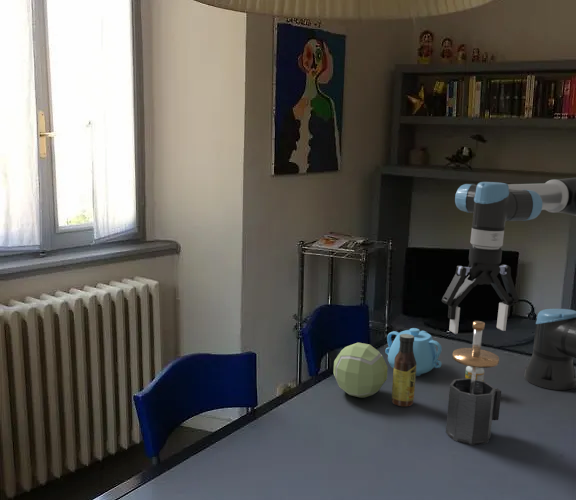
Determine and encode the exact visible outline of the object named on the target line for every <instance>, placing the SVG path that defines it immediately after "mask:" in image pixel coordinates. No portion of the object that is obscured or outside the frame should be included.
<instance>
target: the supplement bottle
mask: <svg viewBox="0 0 576 500" xmlns="http://www.w3.org/2000/svg"><path fill="white" fill-rule="evenodd" d="M464 373H465V375H464V377H465V378H464V379H466V378H470V379H471V377H472V367H471V366H467V365H466V367H465V372H464ZM475 380H479V381H484V380H485V368H478V367H477V369H476V379H475ZM484 382H485V381H484Z"/></svg>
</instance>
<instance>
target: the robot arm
mask: <svg viewBox="0 0 576 500" xmlns="http://www.w3.org/2000/svg"><path fill="white" fill-rule="evenodd" d="M454 196H455V197H454V203H455V206H456V208H457V209H458V210H459V211H461V212H466V213H468V214H473V215H472V223H471V224H472V225H471V233H470V241H469V242H470V244H471V246H469V254H468V261H469V263H468V266H462V265H457V266H456V270H455V274H454V276H453V278H452V280H451V282H450V284H449V286H448V287H447V289H446V290H445V293H444V294H443V296H442V298H441V302H442V303H443V304H445V305H447V306H448V311H447V318H448V319H449V328H448V330H449V331H450V332H452V333H453V334H455V335H457V334H459V333H458V332H459V322H460V315H461V314H460V313H461V307H459V305H460V303H461V302H462V301H463V300H464V299H465V297H467V295H468V294H469V293H470V291H472V289H473V288H475V287H476V286H477V285H479V286H481V285H482V286H483V285H488V286H489V285H491V287H492V289H493V290H495V292H496V294H497V296H498V297H499V298H500V301H501V302H499V303H498V310H497V311H498V312H497V320H496V328H497V329H498V330H500V331H503V332H504V331H505V332H506V329H507V323H508V322H507V320H508V317H510V315H511V313H510V312H511V306H512V307H513V306H514V305H515V303H518V302H519V295H518V293H517V290H516V286H515V283H514V281H513V277H512V267H511V266H509V265H507V264H501V263H502V257H503V256H502V255H503V249H502V247H503V246H504V235H505V228H506V222H516V221H520V222H521V221H522V222H527V221H530V220H534V219H536V218H537V217H538V216H540V214H541V212H542V211H546V212H548V213H553V214H554V213H559V214H560V213H561V214H566V215H571V216H573V217H574V216H575V217H576V177H569V178H566V177H565V178H559V179H550V180H547V181H546V182H545V183H544V182H543V183H511V184H508V183H504V182H500V181H499V182H498V181H480V182H478V183H477V184H475V183H464V184H462V185H460V186H459V187H458V188H457V190H456V193H455V195H454ZM500 264H501V265H500ZM499 274H500V276H501V280H502V282H503V285H502V283H501V281H500V279H499V278H498V275H499ZM467 275H468V276H467ZM503 286H504V287H503ZM532 350H533V351H532V355H531V357H530V358H529V362H528V365H527V366H526V367H525V369H524V376H523V377H524V379H525V380H526V381H527V382H529V383H530V384H532V385H534V386H536V387H540V388H544V389H548V390H555V391H556V390H557V391H567V390H568V391H569V390H572V389H574V388H575V387H576V371H575V365H574V360H573V359H576V310H574V309H567V308H545V309H542V310H540V311H539V312H538V313H537V317H536V321H535V331H534V340H533V348H532Z"/></svg>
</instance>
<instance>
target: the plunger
mask: <svg viewBox="0 0 576 500" xmlns="http://www.w3.org/2000/svg"><path fill="white" fill-rule="evenodd" d="M485 327H486V323H485V322H484V321H480V320H474V321H472V329H473V337H472V347H460V348H456V349H454V350H453V352H452V359H453V360H454V361H455V362H457V363H458V364H461V365H464V366H466V367H467V366H471V367H472V377H471V387H470V394H474V389H475V379H476V369H477V367H478V368H483V369H485V368H486V369H487V368H495V367H496V366H498V365H499V363H500V357H499V356H498V355H497V354H496V353H494V352H491V351H490V350H489V351H488V350H487V349H486V350H485V349H482V339H483V337H482V336H483V331H484V330H485Z"/></svg>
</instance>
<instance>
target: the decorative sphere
mask: <svg viewBox="0 0 576 500" xmlns="http://www.w3.org/2000/svg"><path fill="white" fill-rule="evenodd" d="M388 368H389V367H388V364H387V363H386V360H385V358H384V356H383V355H382V353H380V351H379V350H378V349H376V348H375V347H373V346H372V344H368V343H364V342H363V343H362V342H356V343H353V344H350V345H347V346H344V348H343V349H341V350H340V352H339V353H338V354H337V356H336V358H335V359H334V361H333V375H334V378H335V381H336V383H337V386H338V387H339V388H340V389H341V390H342V391H344V392H345V393H346V394H348V395H349V396H351V397H352V396H353V397H357V398H360V399H364V398H367V397H370V396H373V395H375V394H376V393H378V391H380V389H381V388H382V386H383V385H384V384H385V383H386V381H387V380H388Z"/></svg>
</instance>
